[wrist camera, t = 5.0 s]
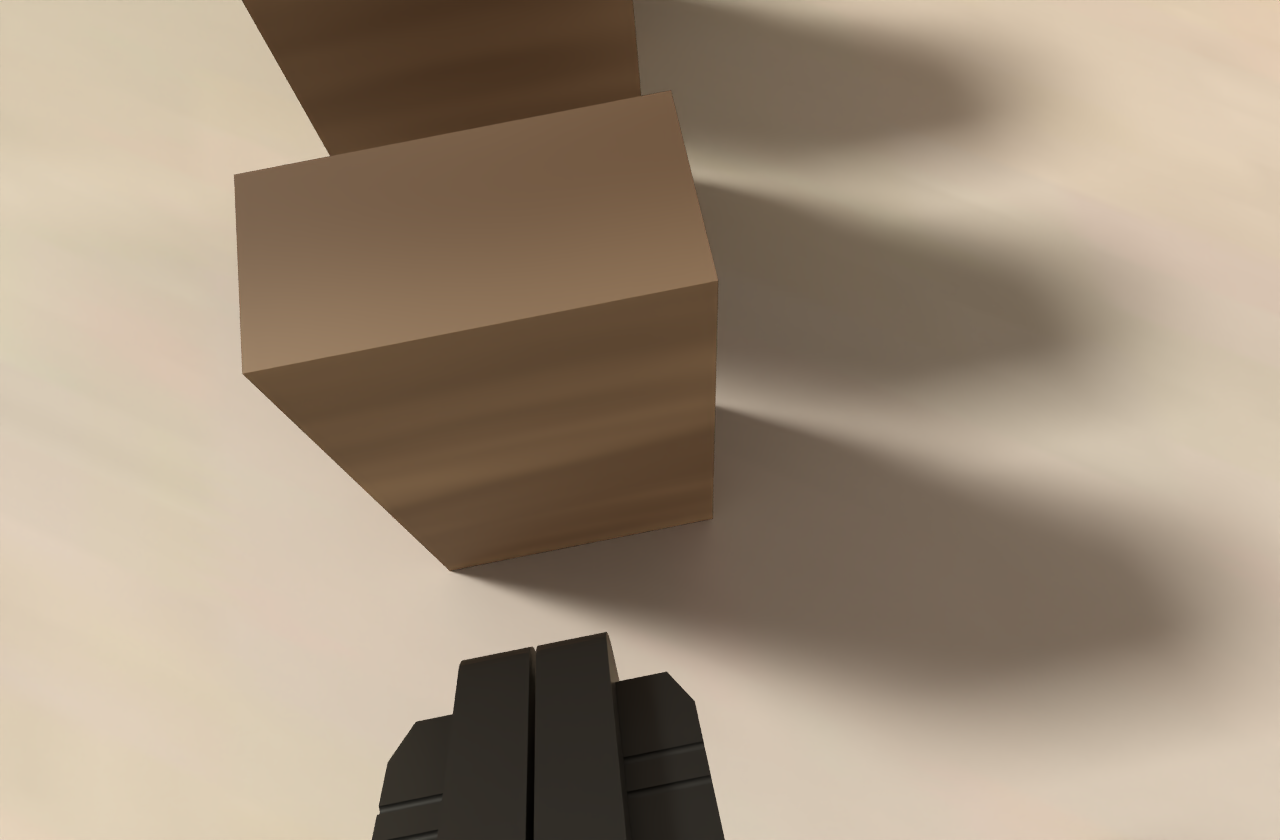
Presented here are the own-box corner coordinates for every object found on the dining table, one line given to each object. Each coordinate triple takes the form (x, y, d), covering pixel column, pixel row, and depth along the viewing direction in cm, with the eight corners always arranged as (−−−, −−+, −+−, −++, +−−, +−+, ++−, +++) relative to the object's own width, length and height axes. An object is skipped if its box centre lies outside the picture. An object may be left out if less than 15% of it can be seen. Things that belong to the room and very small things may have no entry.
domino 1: (655, 266, 21) (623, -103, 12) (418, 312, 21) (226, -28, 12) (634, 167, 22) (590, -238, 13) (406, 211, 22) (220, -168, 13)
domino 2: (712, 518, 19) (718, 279, 10) (450, 570, 19) (243, 373, 10) (685, 398, 20) (671, 90, 11) (435, 447, 20) (234, 174, 11)
